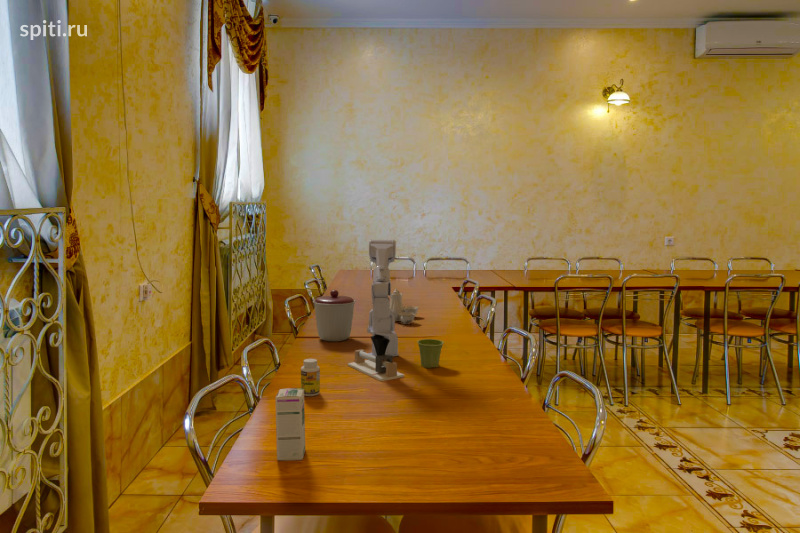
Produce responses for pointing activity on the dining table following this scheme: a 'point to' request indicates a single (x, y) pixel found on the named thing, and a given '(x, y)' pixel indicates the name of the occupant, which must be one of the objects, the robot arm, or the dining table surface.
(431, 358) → the plant pot
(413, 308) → the chinaware
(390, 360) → the grey square collar
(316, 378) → the supplement bottle
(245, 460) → the dining table surface
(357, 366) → the pipe rig
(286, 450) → the syrup box
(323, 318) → the canister
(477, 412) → the dining table surface
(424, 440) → the dining table surface
